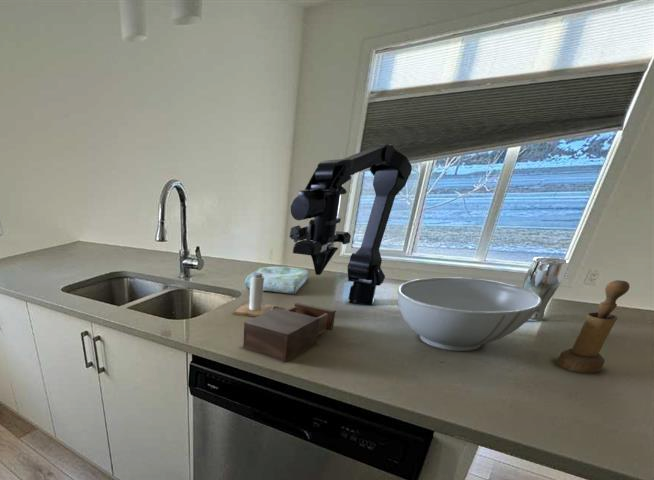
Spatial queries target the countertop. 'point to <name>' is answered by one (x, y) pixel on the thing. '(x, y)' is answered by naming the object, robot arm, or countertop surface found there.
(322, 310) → the drawer
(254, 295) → the salt mill
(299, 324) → the cabinet
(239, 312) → the cork mat
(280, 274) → the towel
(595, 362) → the mortar and pestle
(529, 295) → the decorative bowl
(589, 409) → the countertop surface
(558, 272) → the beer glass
